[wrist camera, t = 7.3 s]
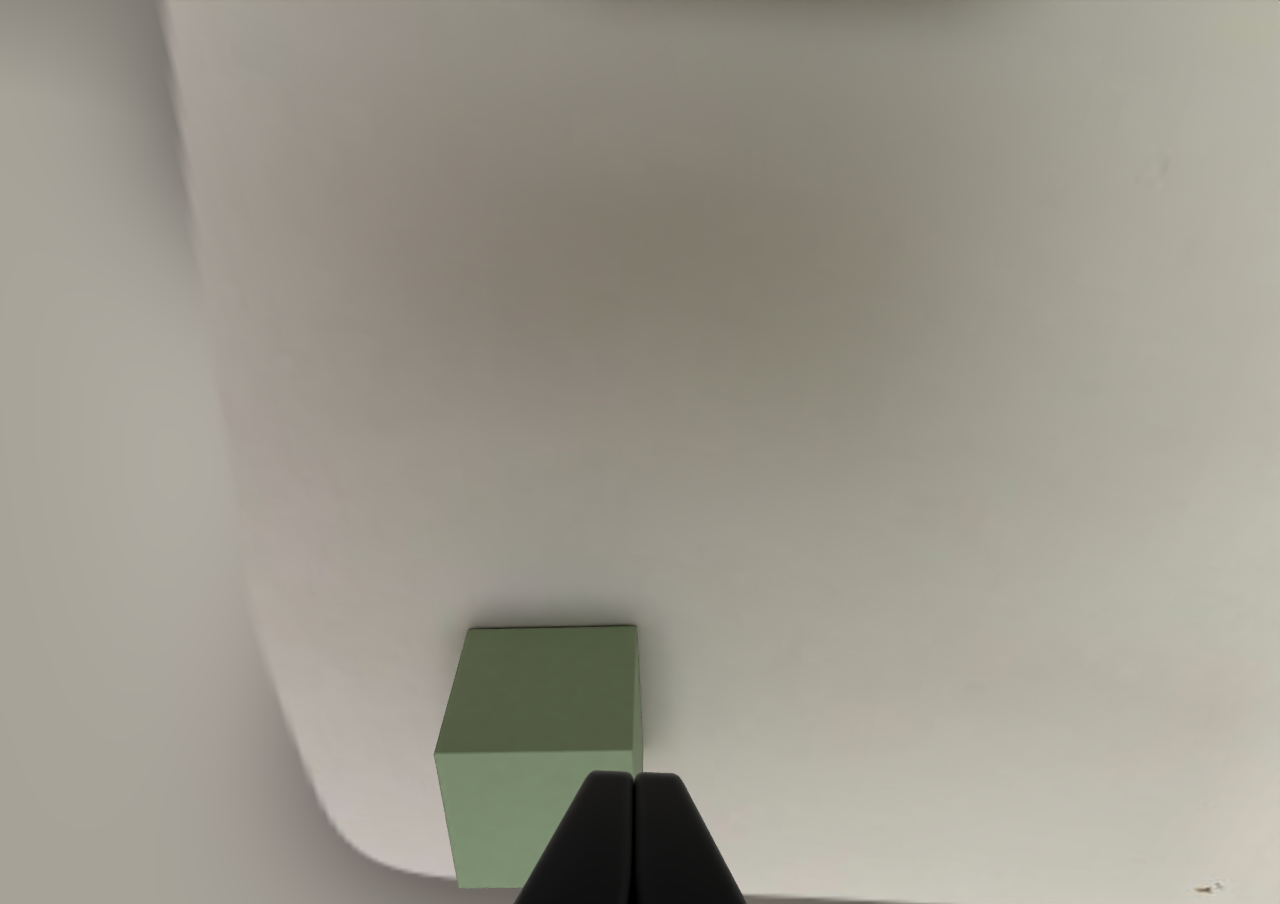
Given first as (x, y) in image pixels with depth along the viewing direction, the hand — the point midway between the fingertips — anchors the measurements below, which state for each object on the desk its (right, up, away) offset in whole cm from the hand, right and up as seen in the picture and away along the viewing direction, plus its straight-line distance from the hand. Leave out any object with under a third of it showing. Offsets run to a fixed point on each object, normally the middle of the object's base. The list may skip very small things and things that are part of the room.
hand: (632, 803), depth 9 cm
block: (-2, -3, +15) cm, 15 cm away
